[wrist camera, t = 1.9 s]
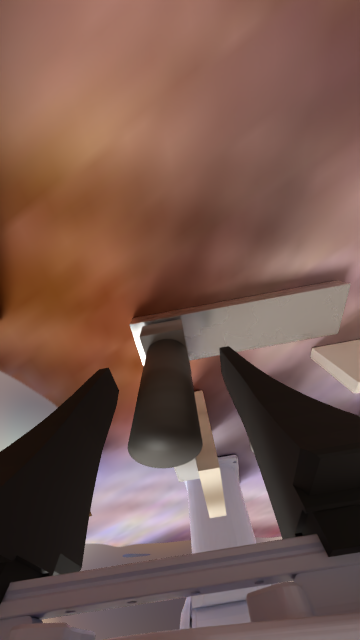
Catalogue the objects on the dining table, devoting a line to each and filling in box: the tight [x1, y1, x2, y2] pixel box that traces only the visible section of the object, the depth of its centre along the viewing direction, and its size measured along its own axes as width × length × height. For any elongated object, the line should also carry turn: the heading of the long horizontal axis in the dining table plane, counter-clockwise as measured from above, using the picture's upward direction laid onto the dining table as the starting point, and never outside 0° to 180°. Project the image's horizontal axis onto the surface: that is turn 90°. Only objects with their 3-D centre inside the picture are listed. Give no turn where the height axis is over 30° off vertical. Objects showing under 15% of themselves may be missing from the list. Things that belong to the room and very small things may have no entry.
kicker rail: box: [130, 280, 350, 366], centre depth 15 cm, size 4×17×1 cm, turn 100°
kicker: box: [128, 319, 227, 518], centre depth 14 cm, size 17×4×9 cm, turn 10°
